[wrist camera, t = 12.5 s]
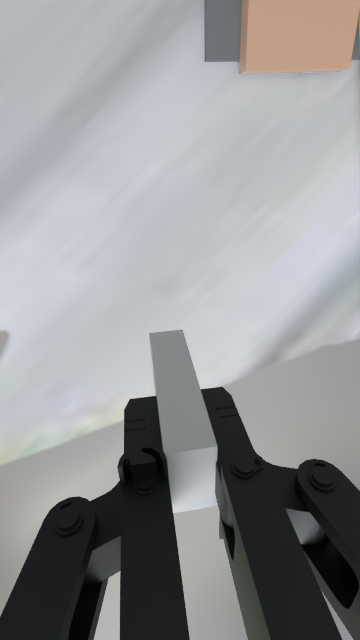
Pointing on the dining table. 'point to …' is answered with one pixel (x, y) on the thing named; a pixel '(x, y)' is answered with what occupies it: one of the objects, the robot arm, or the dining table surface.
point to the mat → (233, 31)
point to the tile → (297, 36)
